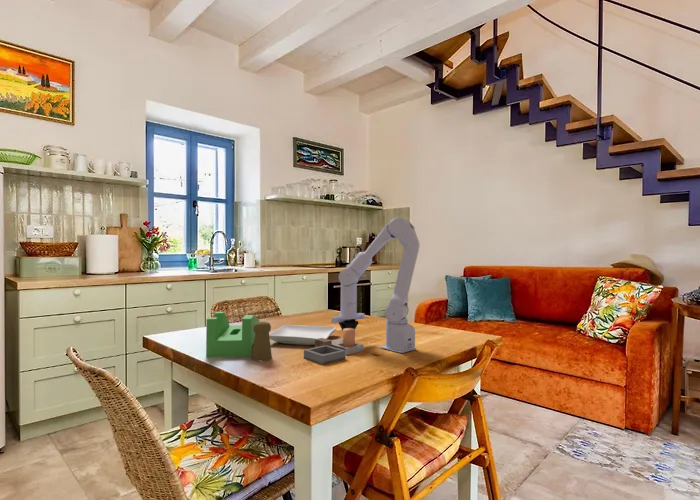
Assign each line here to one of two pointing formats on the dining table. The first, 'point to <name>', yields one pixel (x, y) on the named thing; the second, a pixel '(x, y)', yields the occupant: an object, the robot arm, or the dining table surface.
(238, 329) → the ramp block with notch
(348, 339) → the dowel
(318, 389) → the dining table surface
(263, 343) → the brown pawn
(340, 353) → the tray
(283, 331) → the salad plate
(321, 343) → the block
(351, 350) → the grey flat frame
